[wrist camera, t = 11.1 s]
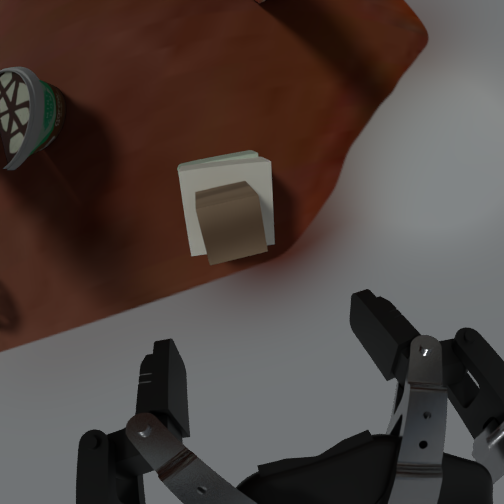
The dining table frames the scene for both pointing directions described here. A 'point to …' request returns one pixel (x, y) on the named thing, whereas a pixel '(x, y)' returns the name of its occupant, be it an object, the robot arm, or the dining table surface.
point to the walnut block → (230, 222)
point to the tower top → (219, 175)
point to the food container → (28, 114)
